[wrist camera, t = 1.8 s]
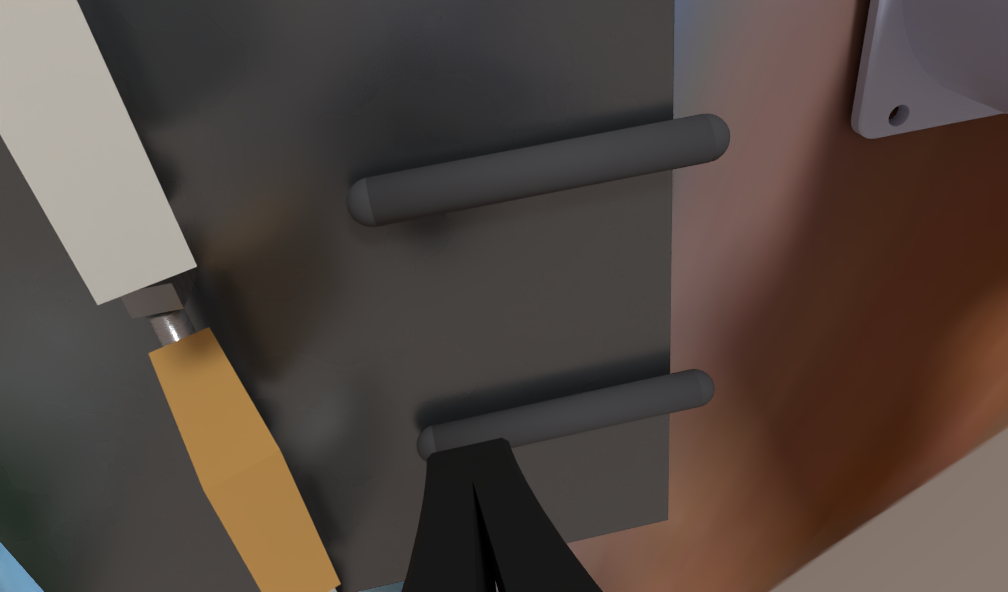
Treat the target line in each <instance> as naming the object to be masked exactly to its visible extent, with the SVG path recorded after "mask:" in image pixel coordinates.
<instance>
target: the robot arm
mask: <svg viewBox="0 0 1008 592" xmlns="http://www.w3.org/2000/svg"><path fill="white" fill-rule="evenodd" d="M897 106H899V109H898V111H897V114H896V115H895V116H894V117H893V118H892V119H890V120H889V115H890V113H891V111H892V110H893V109H894V108H895V107H897ZM1003 113H1006V114H1008V0H871V1H870V7H869V13H868V19H867V25H866V31H865V37H864V43H863V49H862V55H861V61H860V67H859V73H858V79H857V85H856V91H855V98H854V104H853V110H852V116H851V126H852V128H853V130H854V132H856V133H858V134H860V135H862V136H863V137H865V138H867V139H875V138H880V137H886V136H891V135H896V134H901V133H906V132H911V131H916V130H921V129H927V128H932V127H937V126H942V125H947V124H952V123H957V122H962V121H968V120H973V119H978V118H983V117H988V116H993V115H998V114H1003ZM495 580H496V584H497V587H498V591H499V592H603V591H602V590H601V589H600V588H599V586H598V585H597V584H596V583H595V582H594V580H593V579H592V578H591V576H590V575H589V574H588V572H587V571H586V570H585V568H584V567H583V566H582V565H581V563H580V562H579V561H578V559H577V558H576V557H575V555H574V554H573V552H572V551H571V550H570V548H569V547H568V545H567V544H566V543H565V541H564V540H563V538H562V537H561V535H560V534H559V532H558V531H557V529H556V528H555V526H554V525H553V523H552V522H551V520H550V519H549V517H548V516H547V514H546V513H545V511H544V510H543V508H542V507H541V505H540V503H539V502H538V500H537V498H536V497H535V495H534V493H533V491H532V490H531V488H530V486H529V484H528V483H527V481H526V479H525V477H524V475H523V473H522V471H521V469H520V467H519V465H518V463H517V461H516V459H515V456H514V454H513V452H512V449H511V446H510V443H509V441H507V440H506V439H504V438H498V439H493V440H489V441H484V442H479V443H475V444H470V445H466V446H461V447H457V448H452V449H448V450H443V451H439V452H434V453H432V454H431V455H430V456H429V457H428V458H427V466H426V480H425V489H424V496H423V502H422V508H421V513H420V519H419V524H418V529H417V533H416V537H415V542H414V546H413V550H412V554H411V559H410V563H409V567H408V571H407V575H406V578H405V582H404V585H403V588H402V592H496V584H495Z"/></svg>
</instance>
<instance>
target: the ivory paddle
mask: <svg viewBox="0 0 1008 592" xmlns="http://www.w3.org/2000/svg"><path fill="white" fill-rule="evenodd" d="M0 135H1V137H2V139H3V140H4V142H5V144H6V146H7V147H8V149H9V151H10V153H11V154H12V156H13V158H14V160H15V161H16V163H17V165H18V167H19V168H20V170H21V172H22V174H23V175H24V177H25V179H26V181H27V182H28V184H29V186H30V188H31V189H32V191H33V193H34V195H35V196H36V198H37V200H38V202H39V203H40V205H41V207H42V209H43V210H44V212H45V214H46V216H47V217H48V219H49V221H50V223H51V224H52V226H53V228H54V230H55V231H56V233H57V235H58V237H59V238H60V240H61V242H62V244H63V245H64V247H65V249H66V251H67V252H68V254H69V256H70V258H71V259H72V261H73V263H74V265H75V266H76V268H77V270H78V272H79V273H80V275H81V277H82V279H83V280H84V282H85V284H86V286H87V287H88V289H89V291H90V293H91V294H92V296H93V298H94V300H95V301H96V303H97V305H100V304H102V303H105V302H108V301H110V300H113V299H115V298H118V297H120V296H123V295H125V294H128V293H131V292H133V291H136V290H138V289H141V288H143V287H146V286H149V285H151V284H154V283H156V282H159V281H161V280H164V279H167V278H169V277H172V276H174V275H177V274H179V273H182V272H184V271H187V270H190V269H192V268H195V267H197V265H196V263H195V261H194V258H193V256H192V254H191V252H190V249H189V247H188V245H187V243H186V241H185V238H184V236H183V234H182V232H181V230H180V227H179V225H178V223H177V221H176V219H175V216H174V214H173V212H172V210H171V207H170V205H169V203H168V201H167V199H166V196H165V194H164V192H163V190H162V188H161V185H160V183H159V181H158V179H157V177H156V174H155V172H154V170H153V168H152V165H151V163H150V161H149V159H148V157H147V154H146V152H145V150H144V148H143V146H142V143H141V141H140V139H139V137H138V135H137V132H136V130H135V128H134V126H133V123H132V121H131V119H130V117H129V115H128V112H127V110H126V108H125V106H124V104H123V101H122V99H121V97H120V95H119V92H118V90H117V88H116V86H115V84H114V81H113V79H112V77H111V75H110V73H109V70H108V68H107V66H106V64H105V62H104V59H103V57H102V55H101V53H100V50H99V48H98V46H97V44H96V42H95V39H94V37H93V35H92V33H91V31H90V28H89V26H88V24H87V22H86V20H85V17H84V15H83V13H82V11H81V8H80V6H79V4H78V2H77V0H0Z"/></svg>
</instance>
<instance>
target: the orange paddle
mask: <svg viewBox="0 0 1008 592" xmlns="http://www.w3.org/2000/svg"><path fill="white" fill-rule="evenodd" d="M148 354H149V356H150V359H151V361H152V364H153V366H154V369H155V371H156V374H157V376H158V379H159V381H160V384H161V386H162V389H163V391H164V394H165V396H166V399H167V401H168V404H169V406H170V409H171V411H172V413H173V416H174V418H175V421H176V423H177V426H178V428H179V431H180V433H181V436H182V438H183V441H184V443H185V446H186V448H187V451H188V453H189V456H190V458H191V461H192V463H193V466H194V468H195V470H196V473H197V475H198V478H199V480H200V483H201V485H202V488H203V490H204V492H205V494H206V496H207V497H208V499H209V501H210V503H211V504H212V506H213V508H214V510H215V511H216V513H217V515H218V517H219V518H220V520H221V522H222V524H223V525H224V527H225V529H226V531H227V532H228V534H229V536H230V538H231V539H232V541H233V543H234V545H235V546H236V548H237V550H238V552H239V553H240V555H241V557H242V559H243V560H244V562H245V564H246V566H247V567H248V569H249V571H250V573H251V574H252V576H253V578H254V580H255V581H256V583H257V585H258V587H259V588H260V590H261V592H329V591H330V590H332V589H334V588H335V587H337V586H338V585H340V584H341V583H340V581H339V579H338V577H337V575H336V572H335V570H334V568H333V566H332V563H331V561H330V559H329V557H328V555H327V552H326V550H325V548H324V546H323V544H322V541H321V539H320V537H319V535H318V533H317V530H316V528H315V526H314V524H313V521H312V519H311V517H310V515H309V513H308V510H307V508H306V506H305V504H304V502H303V499H302V497H301V495H300V493H299V491H298V488H297V486H296V484H295V482H294V479H293V477H292V475H291V473H290V471H289V468H288V466H287V464H286V462H285V460H284V457H283V455H282V453H281V451H280V449H279V447H278V445H277V444H276V442H275V440H274V438H273V437H272V435H271V433H270V432H269V430H268V428H267V426H266V425H265V423H264V421H263V419H262V418H261V416H260V414H259V412H258V411H257V409H256V407H255V406H254V404H253V402H252V400H251V399H250V397H249V395H248V393H247V392H246V390H245V388H244V387H243V385H242V383H241V381H240V380H239V378H238V376H237V374H236V373H235V371H234V369H233V367H232V366H231V364H230V362H229V361H228V359H227V357H226V355H225V354H224V352H223V350H222V348H221V347H220V345H219V343H218V341H217V340H216V338H215V336H214V335H213V333H212V331H211V329H210V328H209V327H208V328H206V329H204V330H201V331H199V332H197V333H194V334H192V335H190V336H187V337H185V338H183V339H180V340H178V341H176V342H173V343H171V344H169V345H166V346H164V347H162V348H159V349H157V350H155V351H152V352H150V353H148Z"/></svg>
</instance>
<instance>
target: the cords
mask: <svg viewBox="0 0 1008 592" xmlns="http://www.w3.org/2000/svg"><path fill="white" fill-rule="evenodd" d="M729 142H730V131H729V128H728V126H727V124H726V123H725V122H724V121H723V120H722V119H721V118H720V117H718V116H716V115H713V114H700V115H695V116H689V117H684V118H679V119H673V120H668V121H663V122H658V123H652V124H647V125H642V126H636V127H631V128H626V129H621V130H615V131H610V132H605V133H599V134H594V135H589V136H584V137H578V138H573V139H568V140H562V141H557V142H552V143H546V144H541V145H536V146H531V147H525V148H520V149H515V150H509V151H504V152H499V153H494V154H488V155H483V156H478V157H472V158H467V159H462V160H457V161H451V162H446V163H441V164H435V165H430V166H425V167H420V168H414V169H409V170H404V171H398V172H393V173H388V174H383V175H377V176H372V177H367V178H363V179H361V180H359V181H357V182H356V183H355V184H353V186H352V187H351V188H350V190H349V192H348V195H347V202H346V203H347V209H348V211H349V213H350V215H351V217H352V218H353V219H354V220H355V221H356V222H357V223H359V224H361V225H363V226H367V227H379V226H384V225H389V224H394V223H399V222H405V221H410V220H415V219H420V218H425V217H430V216H435V215H441V214H446V213H451V212H456V211H461V210H466V209H471V208H477V207H482V206H487V205H492V204H497V203H502V202H507V201H513V200H518V199H523V198H528V197H533V196H538V195H543V194H549V193H554V192H559V191H564V190H569V189H574V188H579V187H585V186H590V185H595V184H600V183H605V182H610V181H615V180H621V179H626V178H631V177H636V176H641V175H646V174H652V173H657V172H662V171H667V170H672V169H677V168H682V167H688V166H693V165H698V164H703V163H708V162H711V161H714V160H716V159H718V158H719V157H720V156H722V155H723V154H724V152H725V151H726V150H727V148H728V145H729ZM713 394H714V383H713V381H712V379H711V377H710V376H709V375H708V374H707V373H705V372H703V371H701V370H698V369H691V370H686V371H681V372H677V373H672V374H667V375H663V376H658V377H653V378H649V379H644V380H640V381H635V382H630V383H626V384H621V385H616V386H612V387H607V388H602V389H598V390H593V391H589V392H584V393H579V394H575V395H570V396H565V397H561V398H556V399H552V400H547V401H542V402H538V403H533V404H528V405H524V406H519V407H514V408H510V409H505V410H501V411H496V412H491V413H487V414H482V415H477V416H473V417H468V418H464V419H459V420H454V421H450V422H445V423H440V424H436V425H431V426H429V427H427V428H425V429H424V430H423V431H422V432H421V433H420V434H419V436H418V439H417V445H416V446H417V451H418V454H419V456H420V457H421V458H422V459H423V460H424V461H426V462H427V458H428V457H429V456H430V455H431V454H432V453H434V452H439V451H443V450H448V449H452V448H457V447H461V446H466V445H470V444H475V443H479V442H484V441H489V440H493V439H498V438H504V439H506V440H507V441H509V443H510V446H511V448H514V447H519V446H523V445H528V444H532V443H537V442H541V441H546V440H550V439H555V438H559V437H564V436H569V435H573V434H578V433H582V432H587V431H591V430H596V429H600V428H605V427H609V426H614V425H619V424H623V423H628V422H632V421H637V420H641V419H646V418H650V417H655V416H659V415H664V414H669V413H673V412H678V411H682V410H687V409H691V408H696V407H700V406H703V405H705V404H707V403H708V402H709V401H710V400H711V398H712V397H713Z"/></svg>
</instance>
